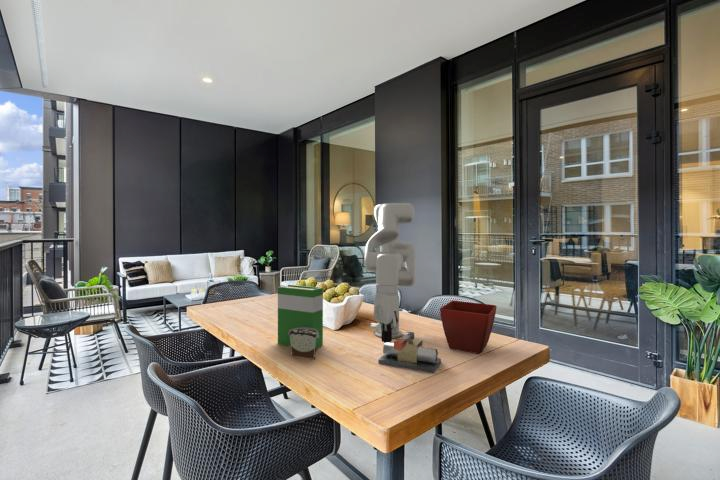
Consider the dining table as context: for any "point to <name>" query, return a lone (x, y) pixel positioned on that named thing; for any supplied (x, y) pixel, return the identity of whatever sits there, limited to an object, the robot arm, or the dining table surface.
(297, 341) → the food container
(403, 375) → the dining table surface
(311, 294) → the green cereal box
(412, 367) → the valve body
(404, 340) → the valve lever
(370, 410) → the dining table surface
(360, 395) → the dining table surface
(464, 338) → the plant pot
